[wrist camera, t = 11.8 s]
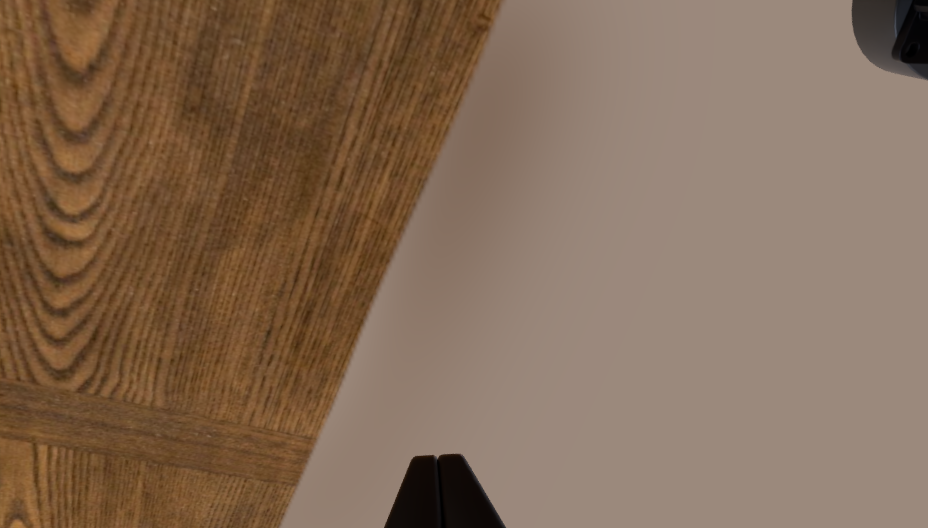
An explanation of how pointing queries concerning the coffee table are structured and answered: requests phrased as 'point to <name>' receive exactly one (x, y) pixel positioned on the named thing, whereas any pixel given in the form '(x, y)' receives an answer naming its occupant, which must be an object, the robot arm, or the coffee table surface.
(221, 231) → the coffee table surface
